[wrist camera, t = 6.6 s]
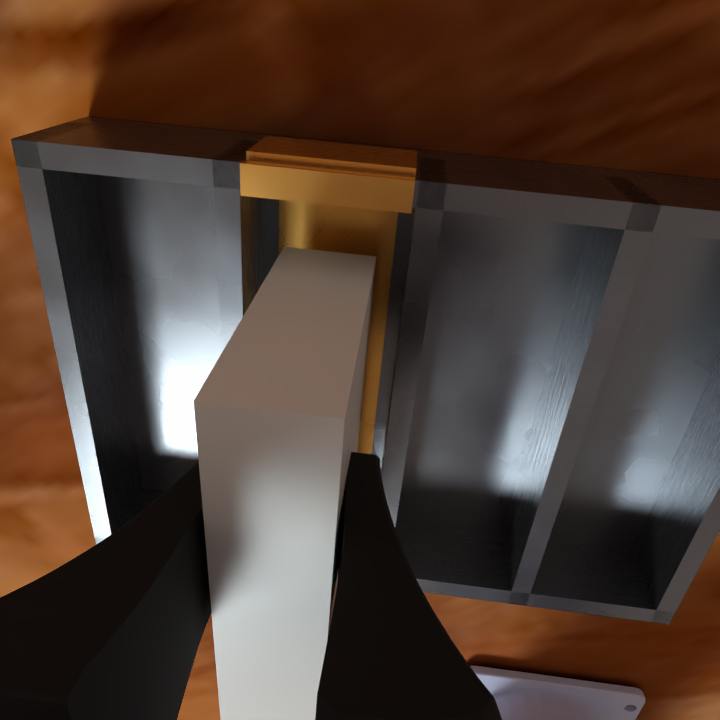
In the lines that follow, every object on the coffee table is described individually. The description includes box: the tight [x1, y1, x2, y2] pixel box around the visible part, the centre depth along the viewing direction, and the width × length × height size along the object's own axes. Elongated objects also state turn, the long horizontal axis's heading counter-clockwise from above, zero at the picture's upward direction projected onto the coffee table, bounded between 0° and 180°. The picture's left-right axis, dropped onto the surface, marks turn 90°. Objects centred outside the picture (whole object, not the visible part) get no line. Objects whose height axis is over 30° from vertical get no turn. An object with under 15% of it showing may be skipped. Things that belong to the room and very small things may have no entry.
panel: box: [194, 247, 376, 720], centre depth 15 cm, size 10×2×7 cm, turn 176°
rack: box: [11, 117, 720, 624], centre depth 18 cm, size 13×19×4 cm
